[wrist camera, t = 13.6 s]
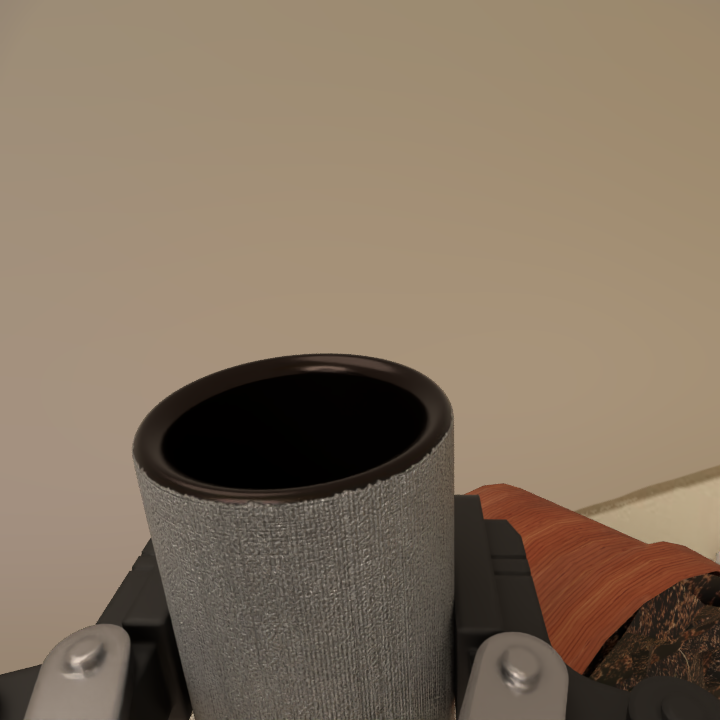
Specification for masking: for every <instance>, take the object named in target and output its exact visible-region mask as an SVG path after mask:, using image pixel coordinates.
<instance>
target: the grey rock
mask: <svg viewBox="0 0 720 720" xmlns="http://www.w3.org/2000/svg"><path fill="white" fill-rule="evenodd" d="M716 563H717V564H719V565H720V551H719V552H718V553H716Z"/></svg>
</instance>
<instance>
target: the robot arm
mask: <svg viewBox="0 0 720 720" xmlns="http://www.w3.org/2000/svg"><path fill="white" fill-rule="evenodd" d="M454 697H455V710H456V720H720V700H719V699H717V698H716V697H715V696H714V695H713V694H711V693H710V692H708V691H707V690H705V689H704V688H702V687H700V686H698V685H696V684H694V683H692V682H689V681H687V680H684V679H681V678H677V677H671V676H653V677H649V678H646V679H643V680H642V681H640V682H638V683H637V684H636V685H635V686H634V687H633V689H632V691H631V692H628V691H625V690H622V689H619V688H615V687H612V686H609V685H606V684H602V683H599V682H597V681H594V680H591V679H589V678H587V677H585V676H583V675H581V674H580V673H578V672H576V671H575V670H573V669H572V668H571V667H570V666H568V665H567V664H566V663H565V662H564V661H563V659H562V658H561V656H560V655H559V654H558V653H557V651H556V650H555V649H554V648H553V647H552V645H551V643H550V640H549V637H548V633H547V630H546V626H545V622H544V619H543V615H542V611H541V607H540V604H539V600H538V596H537V593H536V589H535V585H534V582H533V578H532V576H531V570H530V567H529V563H528V559H527V557H526V552H525V548H524V545H523V541H522V537H521V535H520V534H519V533H518V532H517V531H516V530H515V529H514V527H513V526H512V525H511V524H510V523H509V522H508V521H507V520H506V519H484V517H483V512H482V506H481V501H480V496H479V495H454ZM192 711H193V709H192V705H191V701H190V697H189V692H188V688H187V684H186V680H185V676H184V672H183V667H182V663H181V659H180V655H179V651H178V647H177V642H176V638H175V634H174V630H173V626H172V622H171V617H170V613H169V609H168V605H167V601H166V596H165V592H164V588H163V584H162V580H161V576H160V571H159V567H158V563H157V559H156V555H155V551H154V546H153V542H152V538H150V540H149V541H148V543H147V545H146V546H145V548H144V549H143V551H142V555H141V556H139V557H138V559H137V560H136V562H135V563H134V565H133V567H132V571H129V573H128V574H127V576H126V577H125V579H124V581H123V582H122V584H121V585H120V587H119V588H118V590H117V592H116V593H115V595H114V596H113V598H112V599H111V601H110V603H109V604H108V606H107V607H106V609H105V610H104V612H103V614H102V615H101V617H100V618H99V620H98V621H97V623H96V625H93V626H89V627H86V628H83V629H81V630H78V631H77V632H75V633H72V634H71V635H69V636H68V637H66V638H65V639H63V640H62V641H61V642H59V643H58V644H57V645H56V646H55V647H54V648H53V649H52V650H51V652H50V653H49V654H48V655H47V657H46V658H45V660H44V662H43V664H41V665H37V666H33V667H30V668H25V669H21V670H17V671H14V672H9V673H5V674H1V675H0V720H189V719H190V716H191V714H192Z"/></svg>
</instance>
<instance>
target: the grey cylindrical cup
mask: <svg viewBox="0 0 720 720" xmlns="http://www.w3.org/2000/svg"><path fill="white" fill-rule="evenodd" d="M132 456H133V461H134V466H135V471H136V475H137V479H138V483H139V488H140V492H141V496H142V500H143V505H144V509H145V513H146V517H147V521H148V525H149V529H150V534H151V538H152V542H153V546H154V551H155V555H156V559H157V563H158V567H159V571H160V576H161V580H162V584H163V588H164V592H165V596H166V601H167V605H168V609H169V613H170V617H171V622H172V626H173V630H174V634H175V638H176V642H177V647H178V651H179V655H180V659H181V663H182V667H183V672H184V676H185V680H186V684H187V688H188V692H189V697H190V701H191V705H192V709H193V713H194V717H195V720H455V697H454V416H453V409H452V406H451V403H450V401H449V399H448V397H447V396H446V394H445V393H444V391H443V390H442V389H441V388H440V387H439V386H438V385H437V384H436V383H435V382H434V381H432V380H431V379H430V378H428V377H427V376H425V375H424V374H422V373H420V372H418V371H416V370H414V369H412V368H410V367H407V366H404V365H402V364H399V363H396V362H392V361H388V360H384V359H379V358H374V357H368V356H361V355H351V354H302V355H292V356H282V357H275V358H270V359H264V360H259V361H254V362H250V363H246V364H241V365H238V366H234V367H231V368H227V369H224V370H221V371H218V372H216V373H213V374H210V375H208V376H205V377H203V378H201V379H198V380H196V381H194V382H192V383H190V384H188V385H186V386H184V387H182V388H180V389H179V390H177V391H175V392H174V393H172V394H171V395H169V396H168V397H166V398H165V399H164V400H162V401H161V402H160V403H159V404H158V405H157V406H155V407H154V408H153V409H152V410H151V411H150V413H149V414H148V415H147V416H146V417H145V418H144V420H143V421H142V423H141V424H140V426H139V428H138V430H137V432H136V434H135V437H134V441H133V447H132Z"/></svg>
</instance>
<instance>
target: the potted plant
mask: <svg viewBox="0 0 720 720" xmlns="http://www.w3.org/2000/svg"><path fill="white" fill-rule="evenodd" d="M464 495H479V496H480V501H481V506H482V512H483V517H484V519H506V520H507V521H508V522H509V523H510V524H511V525H512V526H513V527H514V529H515V530H516V531H517V532H518V533H519V534H520V535H521V537H522V541H523V545H524V548H525V552H526V557H527V559H528V563H529V567H530V570H531V576H532V578H533V582H534V585H535V589H536V593H537V596H538V600H539V604H540V607H541V611H542V615H543V619H544V622H545V626H546V630H547V633H548V637H549V640H550V643H551V645H552V647H553V648H554V649H555V650H556V651H557V653H558V654H559V655H560V656H561V658H562V659H563V661H564V662H565V663H566V664H567V665H568V666H570V667H571V668H572V669H573V670H575V671H576V672H578V673H580V674H581V675H583V676H585V677H587V678H589V679H591V680H594V681H597V682H599V683H602V684H606V685H609V686H612V687H615V688H619V689H622V690H625V691H628V692H631V691H632V689H633V687H634V686H635V685H636V684H637V683H638V682H640V681H642V680H643V679H646V678H649V677H653V676H671V677H677V678H681V679H684V680H687V681H689V682H692V683H694V684H696V685H698V686H700V687H702V688H704V689H705V690H707V691H708V692H710V693H711V694H713V695H714V696H715V697H716V698H717V699H719V700H720V565H719V564H717V563H715V562H713V561H712V560H710V559H708V558H706V557H704V556H702V555H701V554H699V553H697V552H695V551H693V550H691V549H689V548H688V547H686V546H682V545H678V544H673V543H668V542H664V541H663V542H658V543H653V544H646V543H644V542H642V541H639V540H637V539H635V538H632V537H630V536H628V535H626V534H623V533H621V532H619V531H617V530H614V529H612V528H610V527H607V526H605V525H603V524H601V523H598V522H596V521H594V520H591V519H589V518H587V517H585V516H582V515H580V514H578V513H576V512H573V511H571V510H569V509H566V508H564V507H562V506H559V505H557V504H555V503H553V502H551V501H548V500H546V499H544V498H541V497H539V496H536V495H535V494H532V493H530V492H528V491H526V490H523V489H521V488H517V487H514V486H511V485H507V484H494V485H485V486H482V487H479V488H477V489H475V490H473V491H471V492H469V493H466V494H464Z"/></svg>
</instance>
